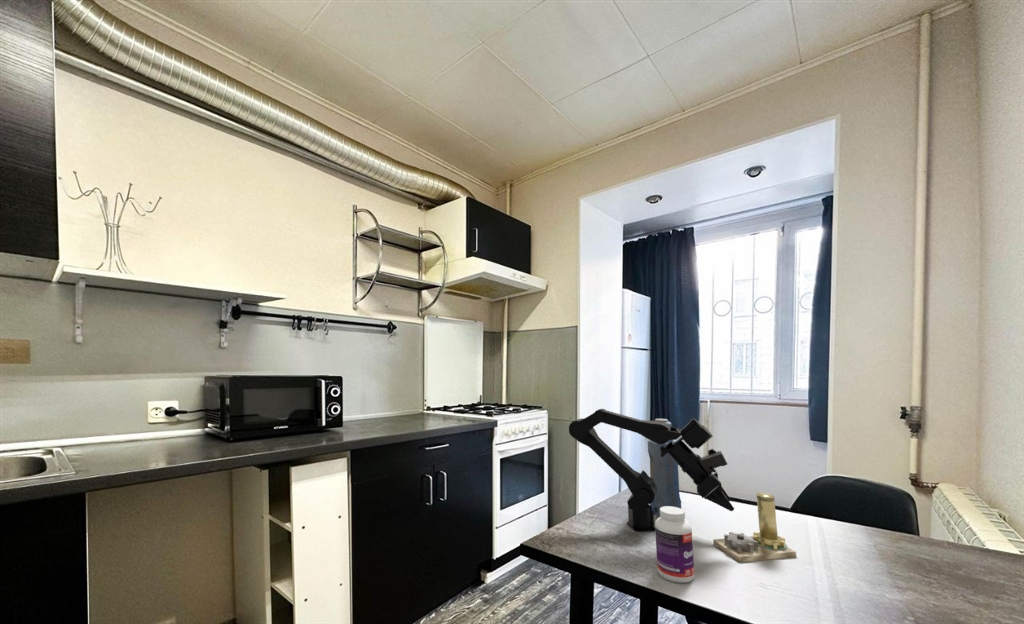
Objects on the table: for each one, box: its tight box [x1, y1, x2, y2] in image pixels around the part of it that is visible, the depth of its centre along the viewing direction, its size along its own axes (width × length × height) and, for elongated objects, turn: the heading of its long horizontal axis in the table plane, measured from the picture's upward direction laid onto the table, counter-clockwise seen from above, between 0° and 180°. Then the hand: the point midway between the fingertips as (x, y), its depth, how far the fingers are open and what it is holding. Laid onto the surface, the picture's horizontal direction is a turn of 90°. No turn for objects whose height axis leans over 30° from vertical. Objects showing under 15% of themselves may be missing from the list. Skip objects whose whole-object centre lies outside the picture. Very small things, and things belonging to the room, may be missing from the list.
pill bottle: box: [654, 506, 695, 584], centre depth 94 cm, size 8×8×14 cm
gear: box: [752, 492, 787, 549], centre depth 107 cm, size 7×7×12 cm
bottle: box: [647, 418, 682, 516], centre depth 134 cm, size 10×10×30 cm
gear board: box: [712, 531, 797, 563], centre depth 105 cm, size 17×10×4 cm, turn 99°
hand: (731, 505), depth 110 cm, fingers open, 9 cm apart
